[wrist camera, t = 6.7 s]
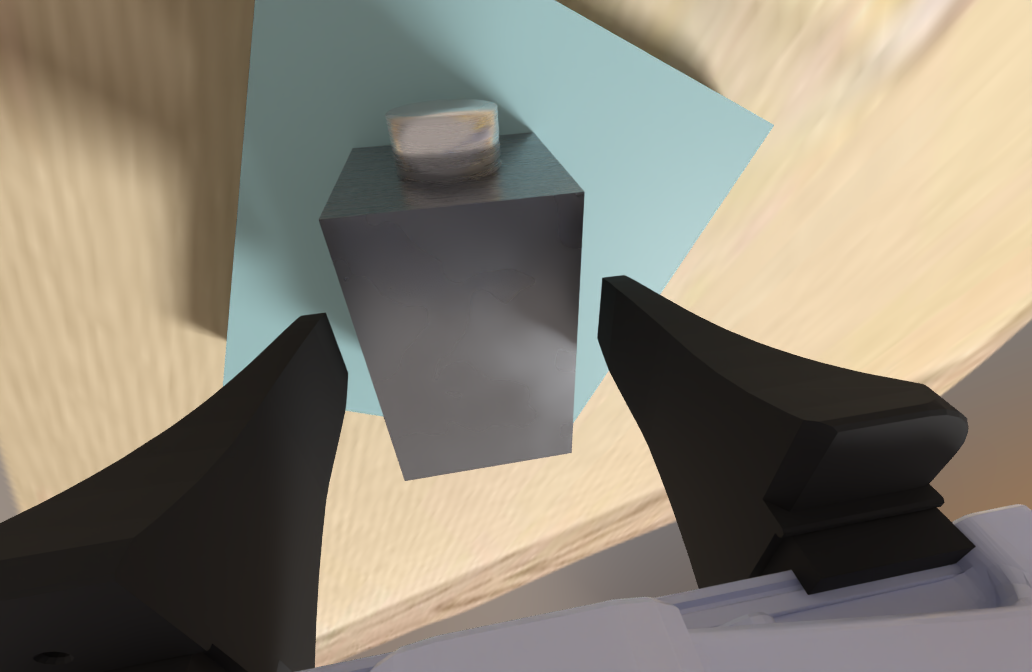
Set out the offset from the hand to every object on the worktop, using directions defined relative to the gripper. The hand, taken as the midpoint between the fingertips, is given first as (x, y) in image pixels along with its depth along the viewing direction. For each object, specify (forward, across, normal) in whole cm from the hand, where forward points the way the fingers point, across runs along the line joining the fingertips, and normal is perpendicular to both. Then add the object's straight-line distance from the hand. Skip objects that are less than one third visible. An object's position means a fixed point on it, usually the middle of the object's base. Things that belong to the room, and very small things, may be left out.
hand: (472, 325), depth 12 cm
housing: (+4, 0, 0) cm, 4 cm away
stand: (+6, 0, 0) cm, 6 cm away
